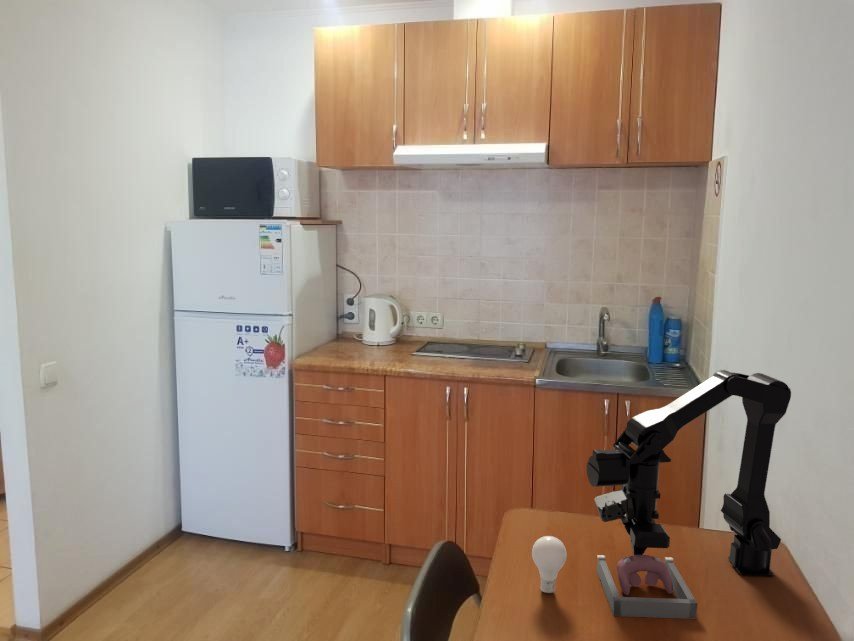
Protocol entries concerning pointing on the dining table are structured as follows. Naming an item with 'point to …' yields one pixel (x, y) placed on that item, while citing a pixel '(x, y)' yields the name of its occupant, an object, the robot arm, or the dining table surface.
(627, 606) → the pocket
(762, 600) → the dining table surface
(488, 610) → the dining table surface
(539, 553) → the lightbulb
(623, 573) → the video game controller
